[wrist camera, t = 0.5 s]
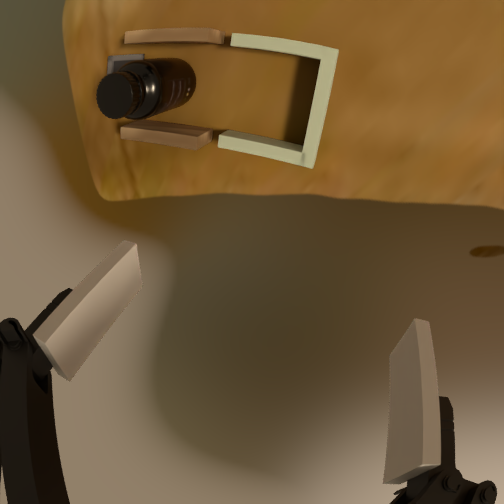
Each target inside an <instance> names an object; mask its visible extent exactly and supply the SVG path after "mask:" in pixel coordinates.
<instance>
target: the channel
mask: <svg viewBox="0 0 504 504" xmlns="http://www.w3.org/2000/svg"><path fill="white" fill-rule="evenodd" d="M224 36H225V32H223V31H219V30H216V29H212V28H164V29H148V30H137V31H127V32H125V41H124V44H148V43H211V44H223V43H224ZM212 134H213V129H210V128H203V127H197V126H190V125H183V124H175V123H168V122H159V121H150V120H138V121H135V122H133V123H130V124H127V125H124V126H122V127H121V139H127V140H135V141H142V142H149V143H156V144H162V145H168V146H175V147H180V148H186V149H192V150H198V149H199V148H201V147H203V146H204V145H206V144H208V143H209V142H211V141H212Z"/></svg>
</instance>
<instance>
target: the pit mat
mask: <svg viewBox="0 0 504 504" xmlns="http://www.w3.org/2000/svg"><path fill="white" fill-rule="evenodd" d="M135 60H144V54H132V55H117V56H108V70H107V75H108V74H111V73H114V72H117V71H118V70H119V69H120V68H121V67H122V66H123V65H125V64H126V63H128V62H131V61H135Z"/></svg>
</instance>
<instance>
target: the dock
mask: <svg viewBox="0 0 504 504" xmlns="http://www.w3.org/2000/svg"><path fill="white" fill-rule="evenodd" d="M230 46H234V47H240V48H249V49H258V50H266V51H273V52H279V53H286V54H292V55H297V56H302V57H307V58H312V59H317V60H321V62H320V67H319V72H318V77H317V82H316V87H315V93H314V97H313V102H312V107H311V112H310V117H309V122H308V127H307V132H306V136H305V141H304V146H302V145H298V144H294V143H290V142H286V141H281V140H277V139H272V138H268V137H263V136H258V135H253V134H248V133H243V132H238V131H233V130H227V131H225V132H223V133H222V134H220V135H219V141H218V147H220V148H225V149H230V150H235V151H240V152H245V153H249V154H254V155H258V156H263V157H267V158H272V159H276V160H280V161H284V162H288V163H292V164H296V165H300V166H304V167H308V168H312V169H313V166H314V163H315V160H316V155H317V151H318V147H319V142H320V138H321V134H322V129H323V125H324V120H325V116H326V111H327V106H328V102H329V97H330V92H331V88H332V83H333V78H334V73H335V68H336V63H337V58H338V53H339V50H338V49H334V48H330V47H325V46H321V45H316V44H311V43H306V42H300V41H295V40H288V39H282V38H275V37H267V36H259V35H249V34H237V33H232V38H231V45H230Z"/></svg>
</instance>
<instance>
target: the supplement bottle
mask: <svg viewBox="0 0 504 504" xmlns="http://www.w3.org/2000/svg"><path fill="white" fill-rule="evenodd" d="M195 88H196V76H195V73H194V71H193V69H192V67H191V66H190V65H189V64H188V63H187V62H185V61H184V60H181V59H178V58H157V59H144V60H135V61H131V62H128V63H126V64H125V65H123V66H122V67H121V68H120V69H119V70H118V71H117V72H114V73H111V74H108V75H107V76H105V77H104V78H103V79H102V81H101V82H100V84H99V86H98V89H97V94H96V96H97V98H96V99H97V104H98V107H99V108H100V111H101V112H102V113H103V114H104V115H105V116H106V117H108V118H112V119H118V118H122V117H125V118H127V119H130V120H143V119H146V118H149V117H152V116H154V115H157V114H160V113H163V112H165V111H168V110H171V109H174V108H177V107H180V106H182V105H184V104H185V103H186V102H188V101H189V99H190V98H191V97H192V95H193V93H194V91H195Z"/></svg>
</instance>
